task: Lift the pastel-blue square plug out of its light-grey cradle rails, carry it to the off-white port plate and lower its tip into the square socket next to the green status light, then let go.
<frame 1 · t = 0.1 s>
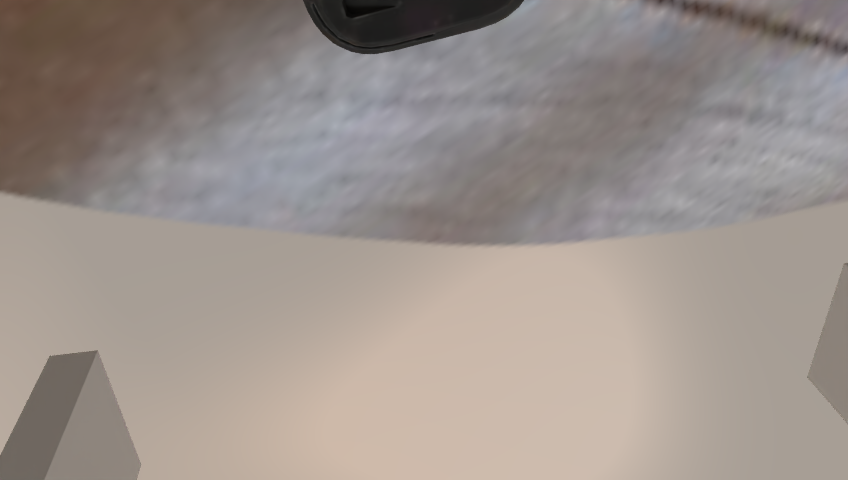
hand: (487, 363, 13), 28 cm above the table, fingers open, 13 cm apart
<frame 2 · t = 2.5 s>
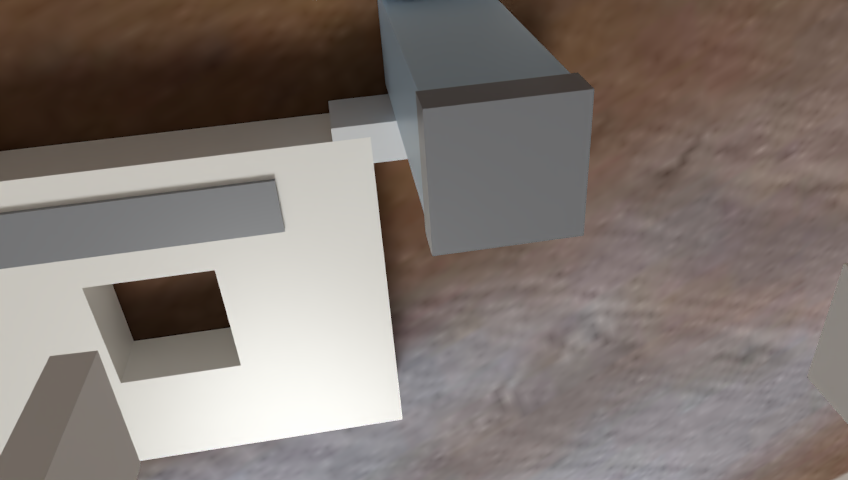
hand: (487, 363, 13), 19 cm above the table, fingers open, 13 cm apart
cradle: (429, 32, 29), on the table
plug: (428, 32, 29), on the table
port plate: (175, 289, 34), on the table
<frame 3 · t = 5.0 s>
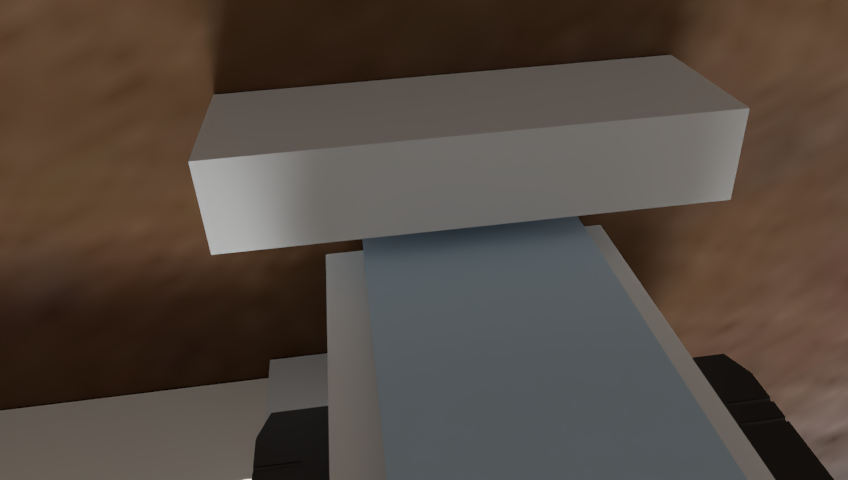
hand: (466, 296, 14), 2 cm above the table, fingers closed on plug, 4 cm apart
cradle: (453, 253, 16), on the table
plug: (453, 253, 16), on the table, touching gripper
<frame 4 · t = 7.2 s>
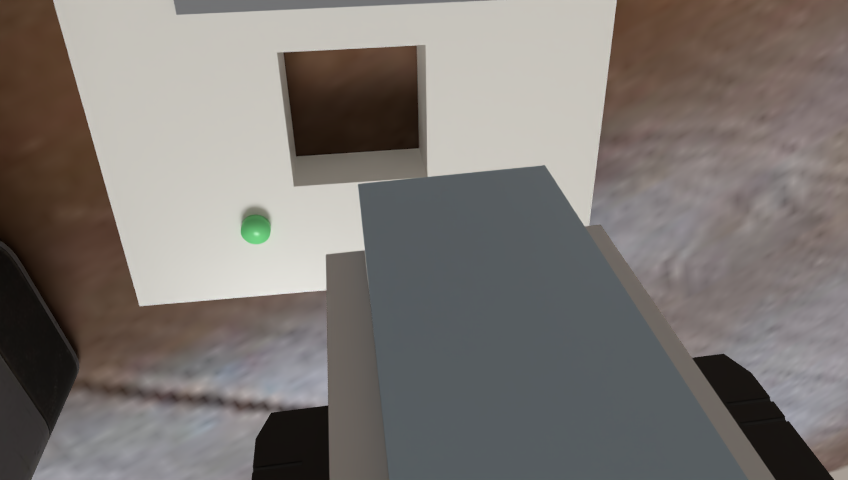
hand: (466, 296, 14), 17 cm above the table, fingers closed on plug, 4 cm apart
plug: (454, 253, 16), point 16 cm above the table, touching gripper
port plate: (353, 93, 30), on the table
when the fingers open (4 cm above the table, at t = 9.5 s): plug drops 2 cm, on the table.
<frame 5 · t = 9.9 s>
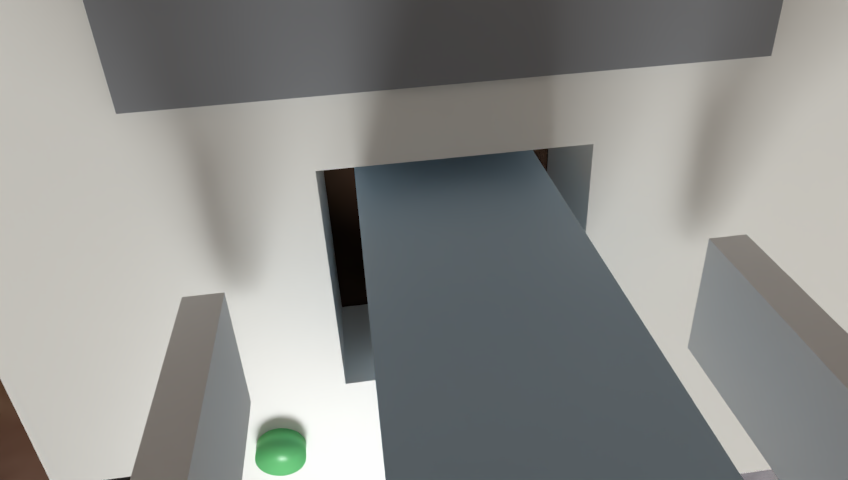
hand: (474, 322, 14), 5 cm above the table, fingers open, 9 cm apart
plug: (438, 208, 18), on the table
port plate: (439, 207, 18), on the table
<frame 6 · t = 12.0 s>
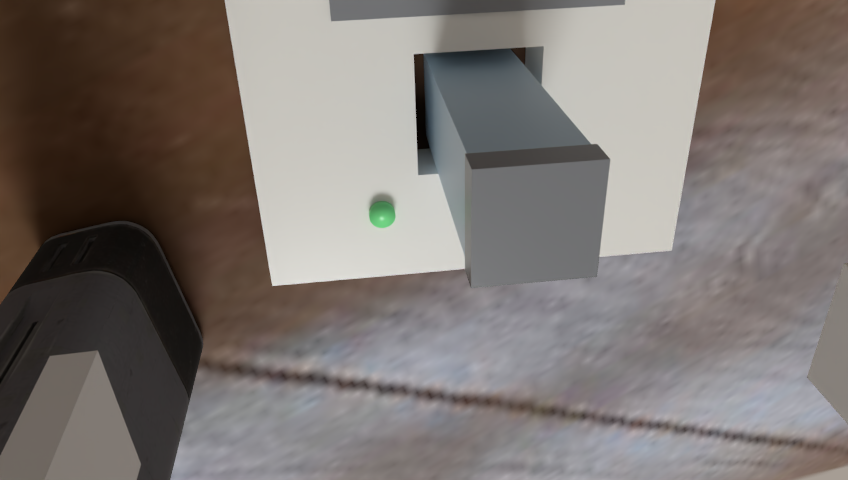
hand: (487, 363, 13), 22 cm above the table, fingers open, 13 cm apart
plug: (466, 92, 33), on the table
port plate: (466, 91, 33), on the table
electronic device: (127, 297, 37), on the table
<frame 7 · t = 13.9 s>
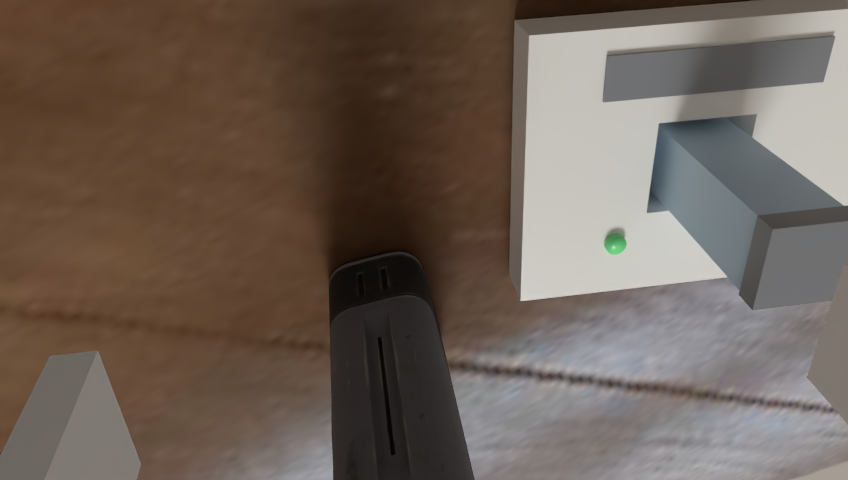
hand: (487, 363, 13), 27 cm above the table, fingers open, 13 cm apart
plug: (676, 144, 41), on the table
port plate: (676, 143, 41), on the table
electronic device: (386, 310, 45), on the table
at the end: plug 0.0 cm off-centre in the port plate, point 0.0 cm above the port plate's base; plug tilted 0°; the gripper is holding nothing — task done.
